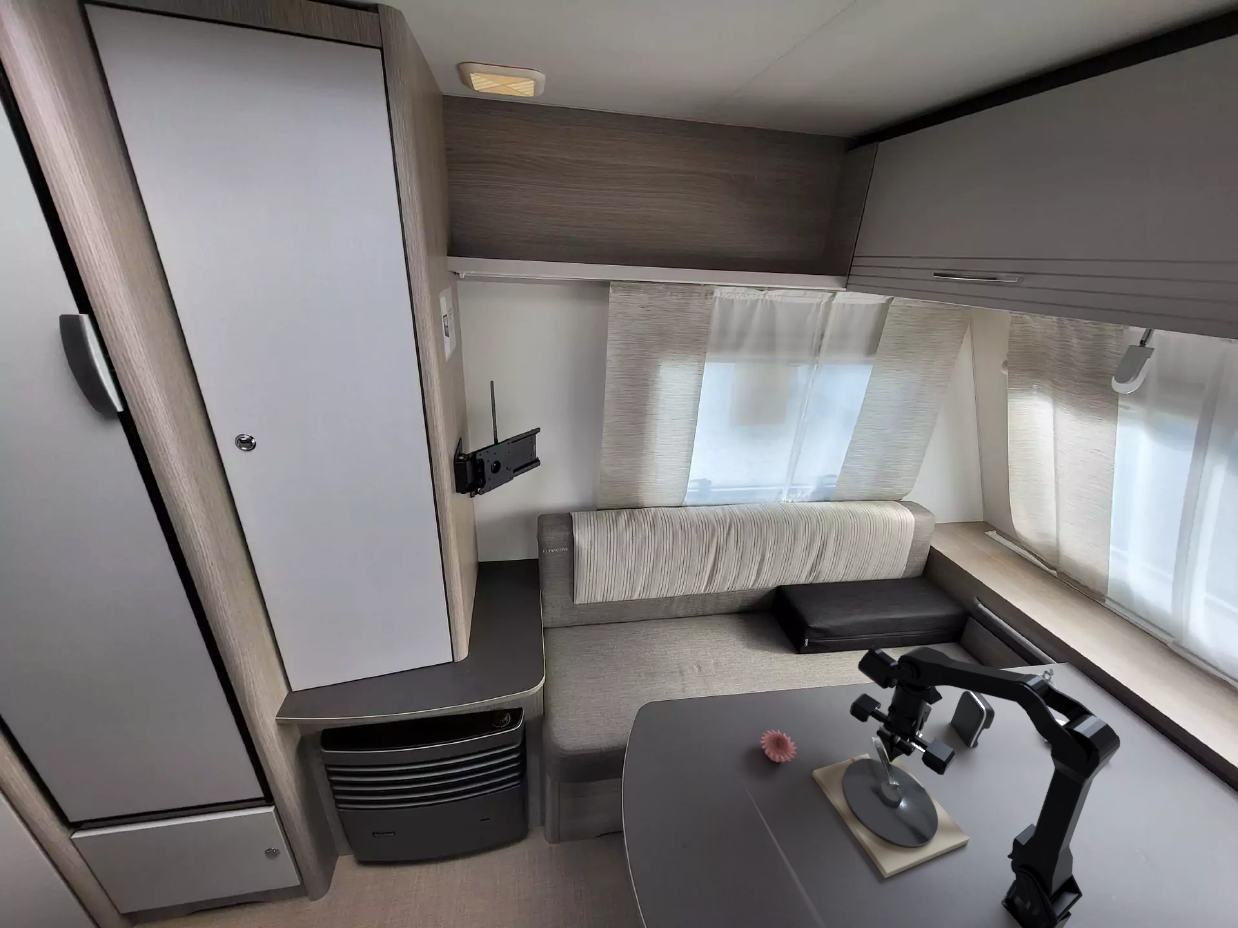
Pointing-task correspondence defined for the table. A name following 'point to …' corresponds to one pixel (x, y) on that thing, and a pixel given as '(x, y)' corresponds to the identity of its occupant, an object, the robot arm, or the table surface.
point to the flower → (778, 746)
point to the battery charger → (972, 717)
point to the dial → (889, 800)
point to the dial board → (880, 851)
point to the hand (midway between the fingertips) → (891, 760)
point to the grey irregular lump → (1049, 677)
